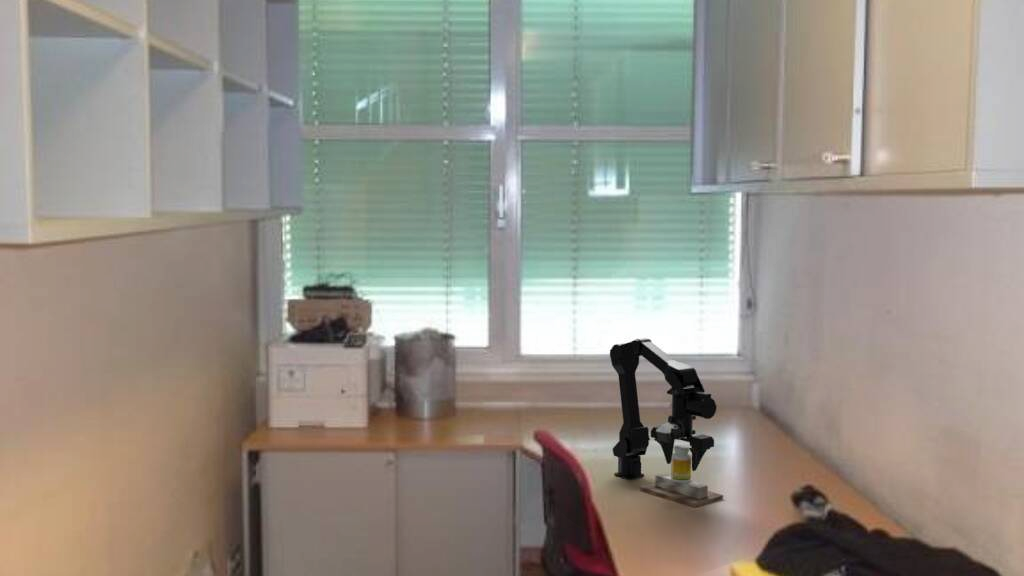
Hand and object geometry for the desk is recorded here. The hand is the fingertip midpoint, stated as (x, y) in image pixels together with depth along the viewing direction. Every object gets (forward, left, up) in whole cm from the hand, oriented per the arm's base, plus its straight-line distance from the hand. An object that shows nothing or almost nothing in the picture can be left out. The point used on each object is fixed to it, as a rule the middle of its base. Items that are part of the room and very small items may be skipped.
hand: (681, 467), depth 279 cm
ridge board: (0, 0, -8) cm, 8 cm away
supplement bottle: (0, 0, -4) cm, 4 cm away
